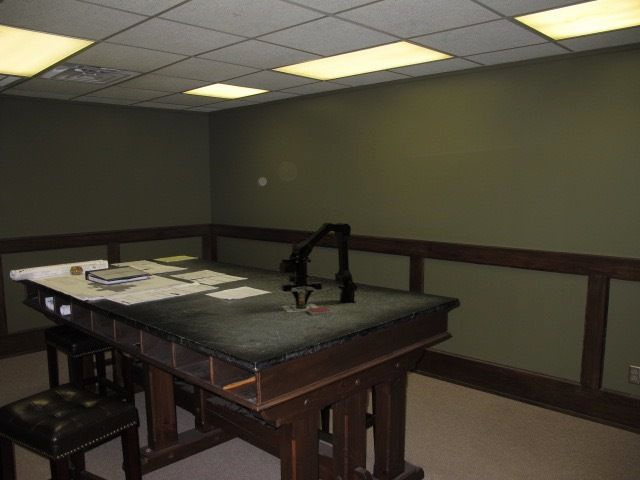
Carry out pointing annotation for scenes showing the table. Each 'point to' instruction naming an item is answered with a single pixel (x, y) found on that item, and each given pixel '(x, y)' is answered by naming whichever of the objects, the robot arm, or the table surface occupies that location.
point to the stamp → (301, 301)
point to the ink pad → (319, 311)
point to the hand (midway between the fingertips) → (301, 304)
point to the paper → (293, 309)
